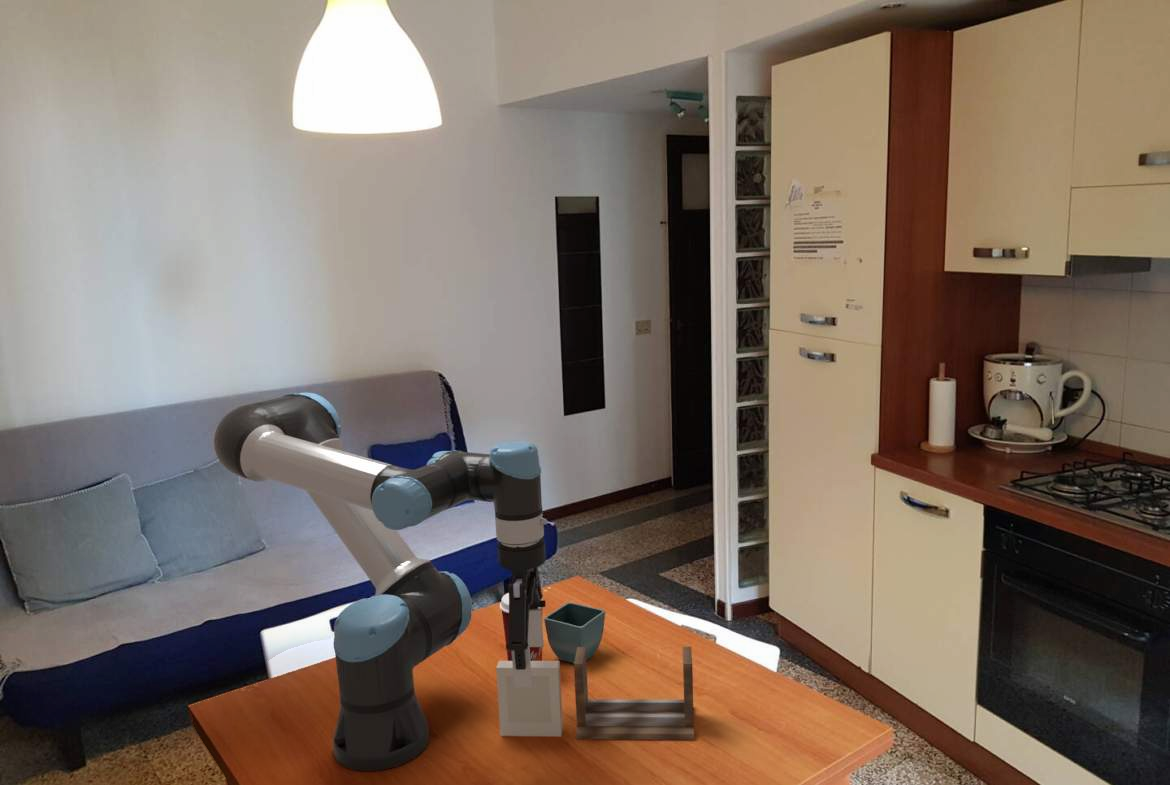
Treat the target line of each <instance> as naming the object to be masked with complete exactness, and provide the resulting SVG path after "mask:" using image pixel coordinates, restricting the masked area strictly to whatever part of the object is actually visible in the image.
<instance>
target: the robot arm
mask: <svg viewBox="0 0 1170 785" xmlns="http://www.w3.org/2000/svg"><path fill="white" fill-rule="evenodd" d="M339 422H340V416H339V414H338V412H337V411H336V409H335V408H334V406H333V405H332V403H331V402H329V401H328V400H327V399H326V398H325V397H323V396H321V395H319V394H317V393H313V392H300V393H297V392H294V393H289V394H284V395H283V396H280V397H276V398H272V399H267V400H263V401H258V402H253V403H248V404H245V405H240V406H238V407H236V408H234V409H232V410H230V412H228V413H226V415H224V417H223V418H222V419H221V420H220V421H219V423H218V425H217V426H216V428H215V432H214V437H213V446H214V451H215V455H216V457H217V459H218V460H219V463H220V464H222V466H223V467H224V468H225V469H226V470H227V471H229V472H231V473H233V474H235V475H237V476H239V477H241V478H243V479H248V480H251V481H253V482H261V483H262V482H265V481H268V480H272V481H275V482H277V483H278V482H279V483H282V484H285V485H288V486H292V487H294V488H298V489H301V490H303V491H304V490H305V491H306V493H307V494H308V496H309V497H310V499H312V501H313V503H314V504H315V505H316V507H317V508H318V510H319V511H320V513H321V514H322V515H323V517H324V519H326V521H327V522H328V523H329V525H330V526H331V528H332V529H333V530H334V532H335V534H337V536H338V537H339V539H340V540H341V542H342V543H343V544H344V546H345V547H346V548H347V550H348V551H349V553H350V554H351V555H352V557H353V559H354V560H355V562H357V564H358V565H359V567H360V568H361V569H362V571H363V572H364V574H365V575H366V576H367V578H368V579H369V580H370V582H371V583H372V584H373V586H374V587H375V593H374V594H375V595H372V596H370V597H369V598H366V597H364V598H361V599H358V600H357V601H355V602H352V603H350V604H349V605H348V606H346V607H345V608H343V610H342V611H341V612H340V613H339V614H338V615H337V617H336V619H335V621H334V626H333V635H334V638H333V650H334V653H335V662H336V664H335V665H336V670H337V672H336V674H337V681H338V689H339V691H338V692H339V699H340V701H339V702H340V709H339V713H338V718H337V721H336V725H335V730H334V733H333V736H332V737H333V740H332V743H333V746H332V747H333V754H334V758H335V759H336V762H338V763H339V764H340V765H342V766H343V767H345V768H348V769H351V770H354V771H361V772H362V771H363V772H374V771H383V770H387V769H392V768H395V767H398V766H400V765H401V766H402V765H404V764H405V763H408V762H410V761H411V760H413V759H415V758H417V757H418V756H419V755H420V754H422V753H423V751H424V750H425V749H426V747H427V746H428V743H429V740H430V732H429V731H430V730H429V724H428V720H427V717H426V715H425V713H424V711H423V709H422V707H421V704H420V702H419V700H418V698H417V696H416V693H415V685H414V684H415V683H414V672H413V671H414V669H415V667H416V666H418V665H420V664H421V663H422V662H424V661H426V660H427V659H428V658H429V657H432V656H433V655H434V654H435V653H438V651H440V650H441V649H443V648H444V647H447V646H449V645H451V644H452V643H453V642H454V641H456V640H457V638H459V636H461V635H462V634H463V633H465V631H466V630H467V628H468V627H469V625H470V622H471V620H472V619H471V618H472V608H473V604H472V598H471V595H470V592H469V589H468V587H467V586H466V584H465V583H464V581H463V579H461V578H460V577H459V576H458V575H457V574H455V573H453V572H449V571H445V570H444V571H443V570H442V571H438V569H437V568H436V567H435V566H434V564H433V563H432V562H431V560H429V559H424V558H418V557H417V556H416V554H415V553H414V552H413V550H411V548H410V546H409V545H408V543H407V542H406V541H405V539H404V537H402V536H401V534H400V533H399V531H400V530H405V529H407V528H409V527H410V528H411V527H415V526H417V525H419V524H421V523H423V522H425V521H426V520H428V519H430V518H432V517H434V516H436V515H438V514H440V513H442V512H445V511H447V510H448V509H451V508H453V507H456V506H457V505H460V504H462V503H464V502H466V501H480V502H491V503H492V502H493V504H494V505H493V506H494V519H495V536H496V537H495V538H496V540H497V541H498V542H497V545H496V546H497V556H498V557H497V560H498V564H499V566H500V567H501V568H502V569H504V570H509V571H510V572H512V573H511V576H512V577H510V578H509V581H508V582H509V584H508V586H507V589H508V593H509V644H506V643H505V650H507V649H508V650H509V651H512V664H513V677H514V687H532V674H531V660H530V647H542V648H543V647H544V645H545V644H544V641H545V640H544V631H543V630H544V628H543V610H542V611H541V609H538V607H542V608H546V600H544V599H543V597H544V595H543V592H542V591H543V590H542V586H541V580H540V575H539V569H538V568H539V567H541V566H543V565H544V563H545V562H546V560H547V557H546V556H547V554H546V553H547V552H546V541H545V539H544V538H543V537H544V536H545V529H544V526H545V525H547V524H548V520H547V518H543V515H544V514H543V504H542V499H543V498H542V482H541V481H542V479H541V474H542V468H541V465H540V459H539V450H538V448H537V446H536V445H535V443H532V442H530V441H526V440H516V441H513V440H510V441H503V442H499V443H496V444H495V445H493V446H492V447H491V449H490V453H481V452H480V453H479V452H468V451H467V452H466V451H462V450H454V449H453V450H442V451H437V452H435V453H433V455H432V456H431V458H430V459H429V460H428V461H427V463H426V465H424V466H421V467H419V468H416V469H409V468H405V467H401V466H397V465H394V464H390V463H388V462H383V461H379V460H376V459H373V458H369V457H365V456H361V455H358V454H354V453H352V452H347V451H344V450H342V447H343V441H342V440H341V438H340V437H341V433H342V426H341V425H340V424H339ZM541 599H543V600H541Z"/></svg>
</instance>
